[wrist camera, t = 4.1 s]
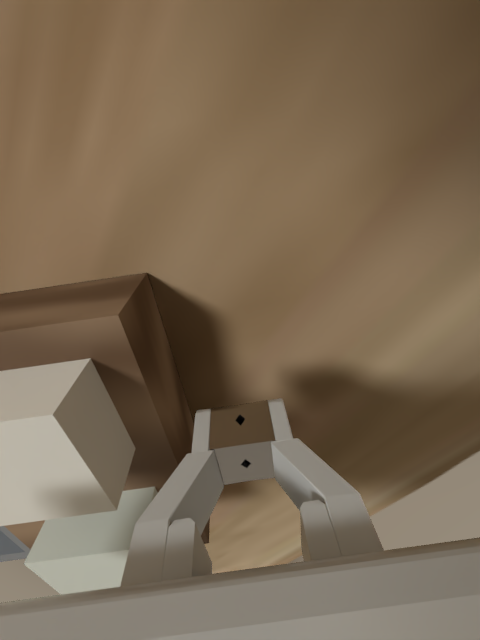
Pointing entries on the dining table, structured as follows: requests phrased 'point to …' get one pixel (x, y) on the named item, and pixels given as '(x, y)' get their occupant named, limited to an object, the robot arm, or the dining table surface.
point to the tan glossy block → (107, 365)
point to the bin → (11, 546)
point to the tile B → (88, 546)
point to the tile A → (59, 444)
